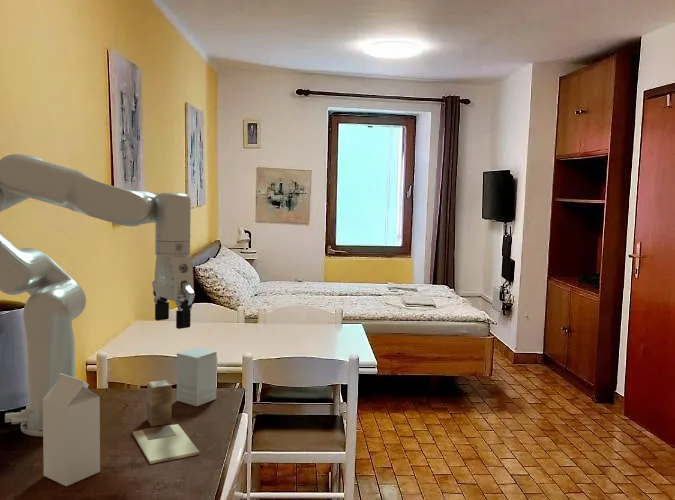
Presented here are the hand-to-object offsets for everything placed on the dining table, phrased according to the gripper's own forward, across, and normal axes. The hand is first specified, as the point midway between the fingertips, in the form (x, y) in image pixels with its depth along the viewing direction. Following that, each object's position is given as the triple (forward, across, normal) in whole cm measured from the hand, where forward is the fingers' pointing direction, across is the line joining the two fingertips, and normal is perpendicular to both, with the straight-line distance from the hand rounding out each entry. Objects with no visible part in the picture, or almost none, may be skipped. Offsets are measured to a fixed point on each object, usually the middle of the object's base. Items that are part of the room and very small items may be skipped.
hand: (172, 323), depth 136 cm
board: (+24, -8, +6) cm, 26 cm away
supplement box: (+24, +11, -13) cm, 30 cm away
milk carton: (+24, -10, +26) cm, 37 cm away
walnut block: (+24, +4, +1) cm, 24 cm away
